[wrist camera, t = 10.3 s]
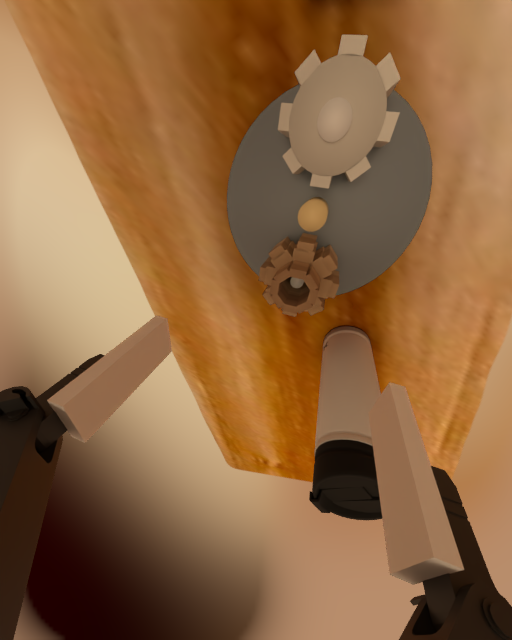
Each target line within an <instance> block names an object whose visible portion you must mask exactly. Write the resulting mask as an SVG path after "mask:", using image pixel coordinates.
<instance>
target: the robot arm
mask: <svg viewBox="0 0 512 640" xmlns="http://www.w3.org/2000/svg"><path fill="white" fill-rule="evenodd" d="M171 351H172V350H171V343H170V336H169V328H168V321H167V318H163V317H160V316H155V317H154V318H153V319H151V320H150V321H149V322H147V323H146V324H145V325H144V326H142V327H141V328H140V329H139V330H137V331H136V332H135V333H133V334H132V335H131V336H129V337H128V338H127V339H126V340H124V341H123V342H122V343H120V344H119V345H118V346H116V347H115V348H114V349H113V350H111V351H110V352H109V353H107V354H106V355H102V354H99V355H97V356H95V357H93V358H90V359H88V360H87V361H86V362H84V363H83V364H82V365H80V366H79V368H76V369H75V370H74V371H72V372H71V374H68V375H67V376H66V377H64V378H63V379H61V380H60V381H59V382H57V383H56V384H55V385H53V386H52V387H51V388H49V389H48V390H47V391H45V392H44V393H43V394H41V395H40V396H38V397H37V398H35V397H34V395H33V394H32V393H31V391H30V390H29V389H28V388H27V387H23V386H20V387H12V388H9V389H6V390H3V391H1V392H0V640H13V638H14V634H15V630H16V626H17V622H18V618H19V614H20V610H21V606H22V602H23V598H24V594H25V590H26V586H27V582H28V578H29V574H30V570H31V566H32V562H33V558H34V553H35V550H36V546H37V542H38V538H39V534H40V530H41V526H42V521H43V517H44V514H45V510H46V505H47V501H48V498H49V493H50V490H51V485H52V481H53V477H54V473H55V469H56V465H57V461H58V457H59V453H60V449H61V445H62V441H63V438H62V437H63V436H62V434H64V433H65V432H66V431H68V432H69V433H70V435H71V437H73V438H75V439H78V440H80V441H82V442H85V443H86V441H88V439H89V438H90V437H91V436H92V435H93V434H94V433H95V432H96V431H97V430H98V429H99V428H100V427H101V426H102V425H103V423H104V422H105V421H106V420H107V419H108V418H109V417H110V416H111V415H112V414H113V413H114V412H115V411H116V410H117V409H118V408H119V407H120V405H121V404H122V403H123V402H124V401H125V400H126V399H127V398H128V397H129V396H130V395H131V394H132V393H133V392H134V390H136V389H137V387H138V386H139V385H140V384H141V383H142V382H143V381H144V380H145V379H146V378H147V377H148V376H149V375H150V374H151V373H152V371H153V370H154V369H155V368H156V367H157V366H158V365H159V364H160V363H161V362H162V361H163V360H164V359H165V358H166V357H167V356H168V355H169V353H170V352H171ZM368 414H369V421H370V429H371V436H372V444H373V451H374V459H375V466H376V474H377V481H378V489H379V496H380V504H381V511H382V519H383V526H384V534H385V541H386V549H387V556H388V564H389V571H390V575H392V576H395V577H397V578H399V579H401V580H404V581H406V582H408V583H411V584H417V583H420V582H423V585H424V590H425V595H421V596H417V597H414V598H413V599H412V600H411V601H410V602H411V603H412V604H413V605H417V604H418V606H417V608H416V610H415V611H414V613H413V615H412V617H411V619H410V621H409V622H408V624H407V626H406V628H405V629H404V631H403V633H402V635H401V637H400V639H399V640H512V607H511V605H510V604H509V603H508V602H507V600H506V599H505V598H503V596H501V595H500V594H499V593H498V591H497V589H496V588H495V586H494V583H493V581H492V579H491V577H490V574H489V572H488V569H487V567H486V564H485V561H484V559H483V556H482V553H481V551H480V548H479V546H478V543H477V541H476V538H475V535H474V533H473V530H472V527H471V525H470V522H469V521H468V520H467V518H468V517H467V514H466V512H465V509H464V507H462V501H461V499H460V496H459V493H458V491H457V488H456V486H455V485H454V483H453V482H452V480H451V479H450V477H449V476H448V474H447V473H446V472H445V470H442V469H439V468H436V467H433V466H431V465H430V462H429V459H428V456H427V453H426V450H425V447H424V444H423V440H422V437H421V434H420V431H419V428H418V425H417V422H416V419H415V416H414V413H413V410H412V406H411V403H410V400H409V397H408V394H407V391H406V388H405V387H404V386H400V385H397V384H393V383H390V382H389V384H388V385H387V387H386V388H385V390H384V391H383V393H382V394H381V395H380V397H379V398H378V400H377V401H376V403H375V404H374V406H373V407H372V409H371V410H370V412H369V413H368Z"/></svg>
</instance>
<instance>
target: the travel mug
mask: <svg viewBox="0 0 512 640" xmlns="http://www.w3.org/2000/svg"><path fill="white" fill-rule="evenodd" d="M380 395H381V393H380V388H379V383H378V378H377V373H376V368H375V363H374V358H373V353H372V348H371V343H370V339H369V337H368V336H367V334H366V333H365V332H363V331H362V330H360V329H358V328H355V327H350V326H342V327H338V328H335V329H333V330H331V331H330V332H329V333H328V334H327V335H326V336H325V338H324V342H323V355H322V367H321V380H320V392H319V404H318V417H317V429H316V442H315V445H316V447H315V464H314V476H313V489H312V490H313V491H312V492H313V493H312V492H310V501H311V502H312V503H313V504H314V505H315V506H316V507H317V508H318V509H319V510H320V511H321V512H322V513H330V512H332V513H334V514H336V515H339V516H342V517H346V518H350V519H357V520H377V519H382V511H381V504H380V496H379V489H378V481H377V474H376V466H375V459H374V451H373V444H372V436H371V429H370V421H369V414H368V413H369V412H370V410H371V409H372V407H373V406H374V404H375V403H376V401H377V400H378V398H379V397H380Z"/></svg>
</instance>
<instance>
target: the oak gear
mask: <svg viewBox="0 0 512 640" xmlns="http://www.w3.org/2000/svg"><path fill="white" fill-rule="evenodd" d="M316 239H317V235H312V234H307V233H303V234H302V236H301V237H300V239H299V241H298V242H297V244H295V243H294V241H291V240H290V239H289V237H286V238H285V239H283V240H282V241H281V242H279V243H278V244H277V245H276V246H275V247H274V248H273V249H272V250H271V251H270V252H269V255H270V257H268V259H267V260H266V261H265V262H264V263H263V265H262V266H261V267H260V273H259V281H262V282H264V284H266V285H268V287H267V288H266V290H265V291H264V293H263V294H262V295H263V296H264V298H265V299H266V300H267V302H268V303H269V304H270V305H272V304H274V303H275V304H276V305H277V307H278V308H281V307H282V309H281V310H283V314H286V315H290V316H294V317H296V315H297V312H298V313H301V312H303V311H306V312H307V311H308V312H309V314H310V315H313V314H316V313H318V312H320V311H322V310H324V302H325V298H326V299H327V298H328V297H330V298H335V295H336V293H337V290H338V287H339V271H335V269H337V268H338V257H337V255H336V253H335V251H334V250H333V248H332V246H331V245H329V246H327V247H325V248H324V246H323V247H321V248H320V249H318V250H317V251H316V248H317V244H318V242H316ZM292 277H294V278H298V279H303V280H304V283H303V285H302V286H301V287H300V288H294V287H292V286H291V284H290V280H291V278H292Z"/></svg>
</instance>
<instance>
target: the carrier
mask: <svg viewBox="0 0 512 640" xmlns="http://www.w3.org/2000/svg"><path fill="white" fill-rule="evenodd" d="M367 37H368V35H342V37H341V42H340V47H339V51H338V55H337V56H334V57H332V58H329V59H328V60H326V61H324V62H323V63H321V62H320V60H319V58H318V55H317V53H316V51H315V49H314V50H313V51H312V53H311V54H310V55H309V56H308V57H307V58H306V60H305V61H304V62H303V63H302V64H301V65H300V67H299V68H298V69H297V70H296V71H295V72H294V73H295V75H296V78H297V80H298V83H299V85H297V86H295V87H293V88H292V89H290V90H288V91H286V92H285V93H283V94H282V95H281V96H279V97H278V98H277V99H276V100H274V101H273V102H272V103H271V104H270V105H269V106H268V107H267V108H266V109H265V110H264V111H263V112H262V113H261V114H260V115H259V116H258V117H257V119H256V120H255V121H254V123H253V124H252V125H251V127H250V128H249V130H248V131H247V133H246V135H245V136H244V138H243V140H242V142H241V144H240V146H239V148H238V151H237V153H236V155H235V158H234V161H233V164H232V168H231V172H230V177H229V182H228V191H227V211H228V219H229V224H230V228H231V232H232V235H233V238H234V241H235V243H236V246H237V248H238V250H239V252H240V253H241V255H242V257H243V258H244V260H245V261H246V263H247V264H248V265H249V266H250V268H251V269H252V270H253V271H254V272H255V273H256V274H257V275H258V276H259V273H260V267H261V266H262V265H263V263H264V262H265V261H266V260H267V259H268V257H270V255H269V252H270V251H271V250H272V249H273V248H274V247H275V246H276V245H277V244H278V243H279V242H281V241H282V240H283V239H285V238H286V237H289V239H290V240H291V241H294V243H295V244H297V242H298V241H299V239H300V237H301V236H302V234H303V233H307V234H312V235H317V239H316V242H318V244H317V248H316V251H317V250H318V249H320V248H321V247H323V246H324V248H325V247H327V246H329V245H331V246H332V248H333V250H334V251H335V253H336V255H337V257H338V268H337V269H335V271H339V287H338V290H337V293H336V295H340V294H343V293H346V292H350V291H352V290H354V289H357V288H359V287H361V286H363V285H365V284H367V283H369V282H370V281H372V280H373V279H375V278H376V277H378V276H379V275H381V274H382V273H383V272H384V271H385V270H387V269H388V268H389V267H390V266H391V265H392V264H393V263H394V262H395V261H396V260H397V259H398V258H399V257H400V256H401V254H402V253H403V252H404V251H405V249H406V248H407V246H408V245H409V244H410V242H411V241H412V239H413V237H414V235H415V234H416V232H417V230H418V228H419V226H420V224H421V221H422V219H423V217H424V214H425V211H426V208H427V204H428V201H429V197H430V191H431V184H432V159H431V152H430V146H429V142H428V139H427V136H426V132H425V130H424V128H423V126H422V124H421V122H420V120H419V118H418V116H417V114H416V113H415V112H414V110H413V109H412V108H411V106H410V105H409V103H408V102H407V101H406V100H405V99H404V98H402V97H401V96H400V95H399V94H398V93H397V92H396V91H395V90H394V88H395V87H396V85H397V84H398V82H399V80H400V79H401V78H400V76H399V73H398V71H397V68H396V65H395V63H394V60H393V58H392V55H391V53H389V54H388V55H387V56H386V57H385V58H383V59H382V60H381V61H380V62H379V63H378V64H377V65H376V66H375V65H374V64H373V63H372V62H371V61H370V60H368V59H366V58H365V57H363V55H364V51H365V46H366V42H367ZM303 283H304V280H303V279H298V278H294V277H292V278H291V280H290V284H291V286H292V287H294V288H300V287H301V286H302V285H303Z"/></svg>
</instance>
